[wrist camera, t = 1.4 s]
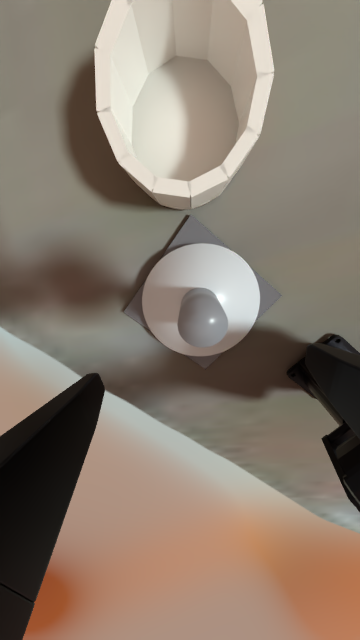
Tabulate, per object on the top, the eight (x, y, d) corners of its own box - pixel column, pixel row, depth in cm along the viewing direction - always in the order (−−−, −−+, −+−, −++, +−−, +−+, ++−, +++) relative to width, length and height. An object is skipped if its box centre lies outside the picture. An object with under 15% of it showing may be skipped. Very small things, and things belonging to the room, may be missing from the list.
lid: (282, 295, 17) (318, 314, 12) (205, 369, 21) (209, 407, 16) (191, 214, 15) (191, 198, 10) (123, 312, 19) (99, 335, 14)
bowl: (272, 122, 13) (311, 64, 9) (192, 233, 16) (193, 228, 12) (171, 8, 11) (160, -131, 7) (103, 156, 14) (67, 118, 10)
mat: (280, 294, 17) (282, 295, 17) (205, 367, 21) (205, 369, 21) (191, 215, 15) (191, 214, 15) (124, 310, 19) (123, 312, 19)
